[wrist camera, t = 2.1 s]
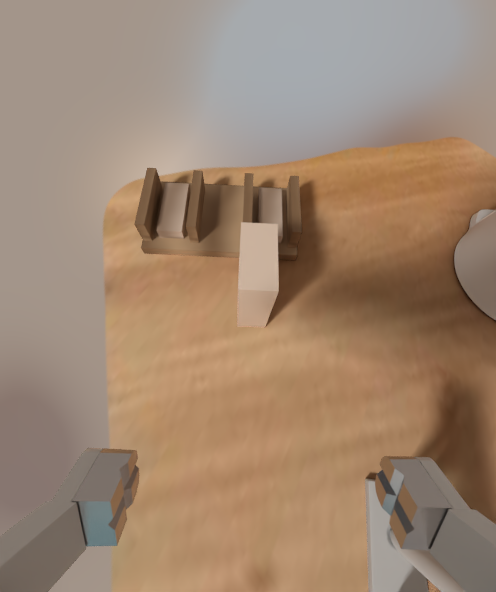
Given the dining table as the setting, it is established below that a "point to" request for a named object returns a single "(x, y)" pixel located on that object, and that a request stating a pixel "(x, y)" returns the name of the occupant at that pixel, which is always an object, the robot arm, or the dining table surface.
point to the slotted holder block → (214, 216)
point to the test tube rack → (398, 556)
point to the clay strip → (257, 273)
